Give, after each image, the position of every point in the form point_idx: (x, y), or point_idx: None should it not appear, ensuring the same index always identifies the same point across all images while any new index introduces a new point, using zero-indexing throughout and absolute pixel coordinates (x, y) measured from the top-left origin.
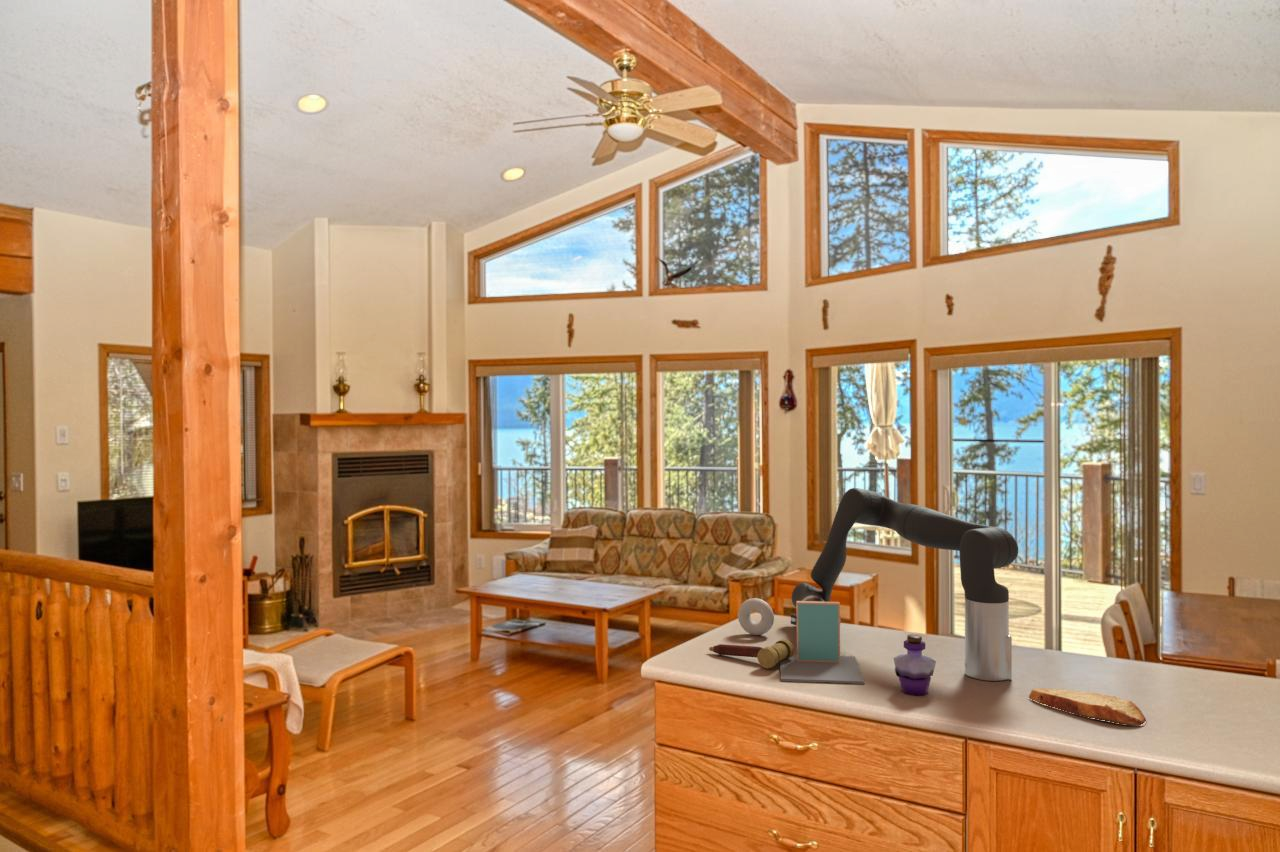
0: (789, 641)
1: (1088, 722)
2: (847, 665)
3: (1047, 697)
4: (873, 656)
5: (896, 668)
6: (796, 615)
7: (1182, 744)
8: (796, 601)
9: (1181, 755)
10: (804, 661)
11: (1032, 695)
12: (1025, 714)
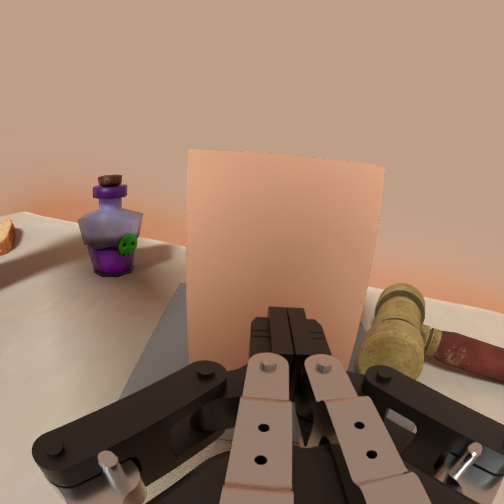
0: (380, 331)
1: (22, 232)
2: (179, 346)
3: (10, 235)
4: (31, 433)
5: (137, 234)
6: (471, 417)
7: (12, 221)
8: (384, 168)
9: (31, 217)
10: None
11: (7, 244)
12: (50, 238)
